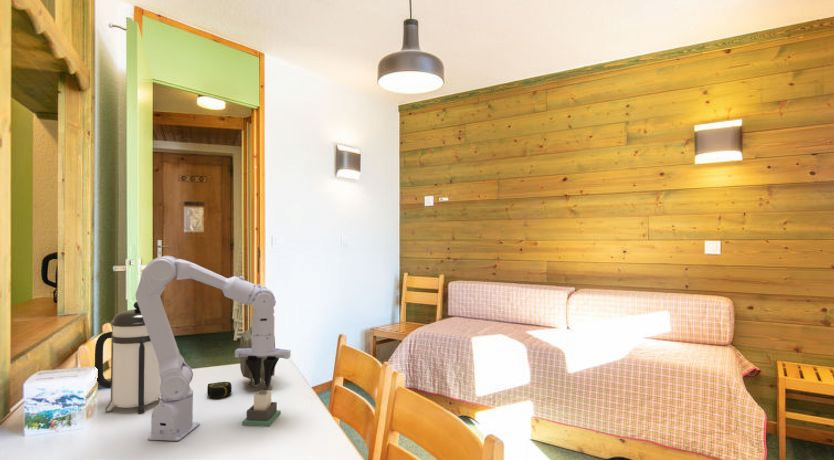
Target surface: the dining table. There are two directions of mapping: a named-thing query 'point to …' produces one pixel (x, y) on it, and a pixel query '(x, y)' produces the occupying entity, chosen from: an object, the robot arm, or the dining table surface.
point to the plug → (262, 400)
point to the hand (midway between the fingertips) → (262, 384)
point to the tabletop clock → (247, 343)
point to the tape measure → (219, 389)
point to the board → (261, 416)
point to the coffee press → (129, 362)
